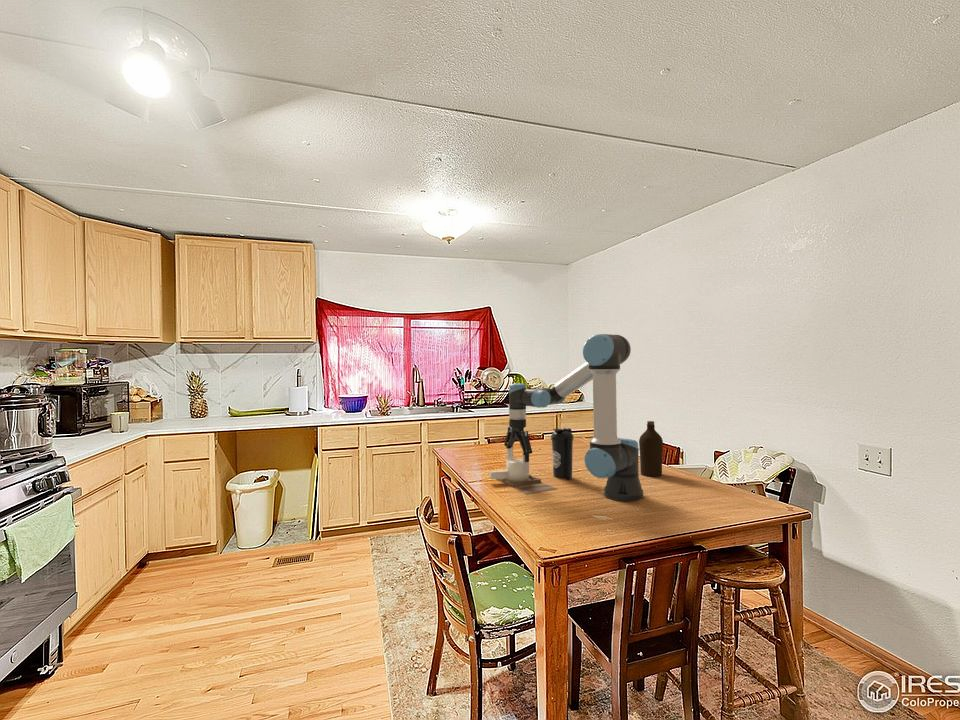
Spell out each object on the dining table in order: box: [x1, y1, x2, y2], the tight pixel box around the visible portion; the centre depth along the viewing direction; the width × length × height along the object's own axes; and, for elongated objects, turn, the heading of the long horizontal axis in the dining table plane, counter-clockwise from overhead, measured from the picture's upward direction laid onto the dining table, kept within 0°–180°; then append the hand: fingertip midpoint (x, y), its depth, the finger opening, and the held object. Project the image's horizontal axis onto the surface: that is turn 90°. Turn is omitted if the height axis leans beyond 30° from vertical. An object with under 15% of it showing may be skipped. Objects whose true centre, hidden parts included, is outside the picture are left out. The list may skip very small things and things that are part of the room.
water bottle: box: [550, 427, 574, 481], centre depth 219 cm, size 10×10×23 cm
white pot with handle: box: [489, 458, 530, 483], centre depth 210 cm, size 18×10×9 cm, turn 103°
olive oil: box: [638, 420, 664, 478], centre depth 223 cm, size 11×11×25 cm
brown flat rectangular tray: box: [496, 473, 558, 495], centre depth 207 cm, size 27×15×2 cm, turn 26°
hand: (517, 465), depth 212 cm, fingers open, 13 cm apart
